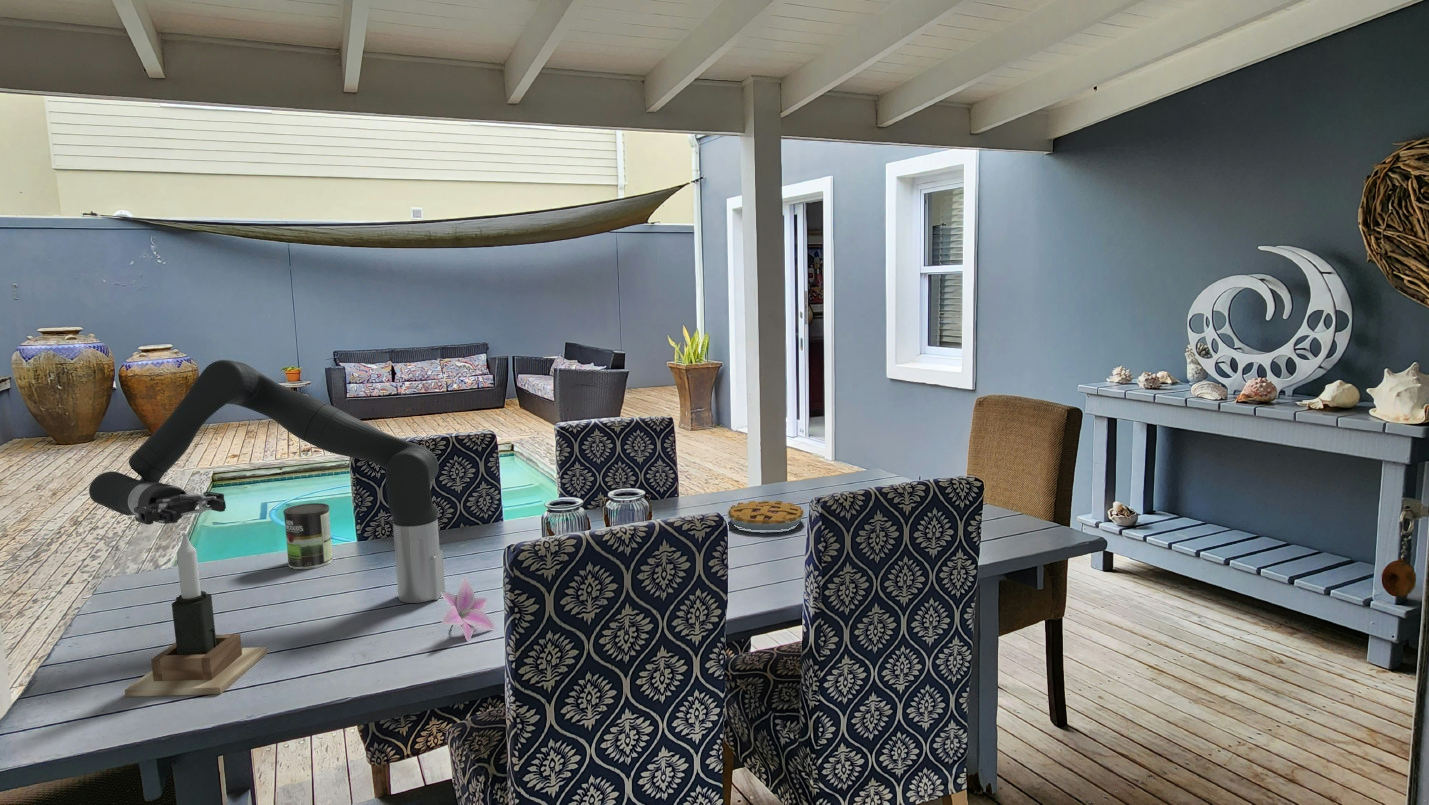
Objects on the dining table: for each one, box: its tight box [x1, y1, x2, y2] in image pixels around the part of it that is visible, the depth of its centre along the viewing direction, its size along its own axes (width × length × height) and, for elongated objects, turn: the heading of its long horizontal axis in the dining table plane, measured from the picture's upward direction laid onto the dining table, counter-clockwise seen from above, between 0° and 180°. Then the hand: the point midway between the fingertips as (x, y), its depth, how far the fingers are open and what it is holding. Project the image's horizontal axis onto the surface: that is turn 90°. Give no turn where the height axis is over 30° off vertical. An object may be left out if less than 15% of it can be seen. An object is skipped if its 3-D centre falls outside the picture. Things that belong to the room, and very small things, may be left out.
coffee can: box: [283, 502, 334, 570], centre depth 212 cm, size 10×10×14 cm
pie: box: [726, 500, 805, 530], centre depth 240 cm, size 22×22×5 cm
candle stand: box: [124, 633, 268, 698], centre depth 153 cm, size 16×16×5 cm
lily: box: [441, 576, 496, 642], centre depth 169 cm, size 12×12×10 cm
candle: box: [171, 531, 217, 655], centre depth 151 cm, size 5×5×25 cm
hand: (199, 511), depth 160 cm, fingers open, 8 cm apart
